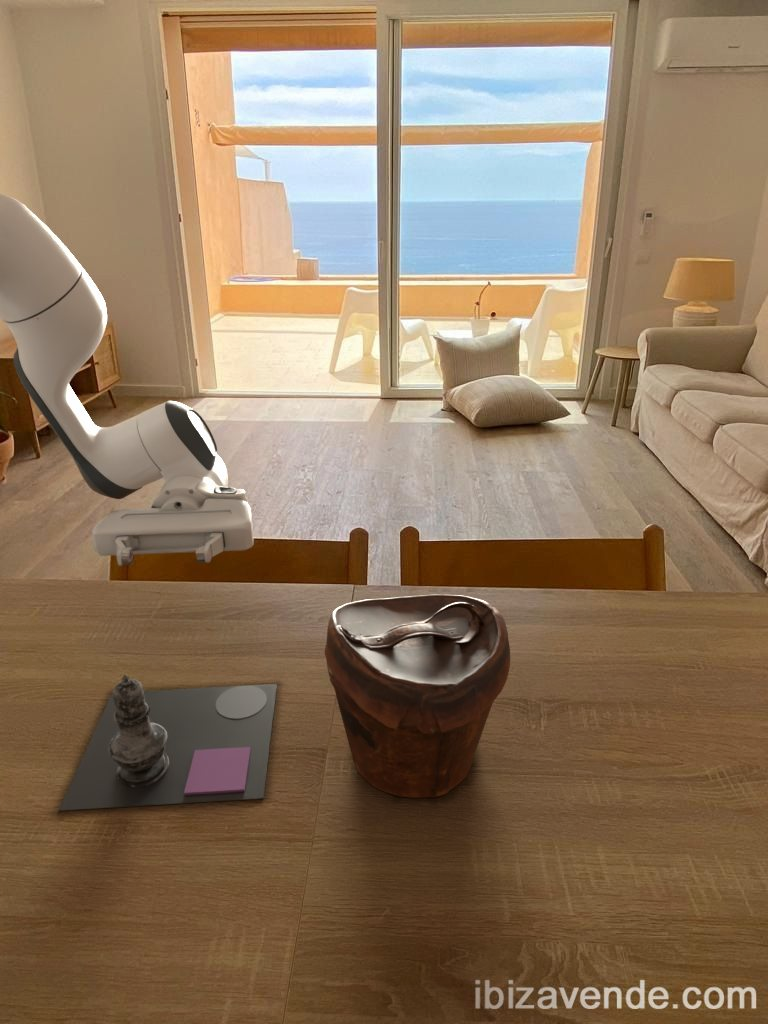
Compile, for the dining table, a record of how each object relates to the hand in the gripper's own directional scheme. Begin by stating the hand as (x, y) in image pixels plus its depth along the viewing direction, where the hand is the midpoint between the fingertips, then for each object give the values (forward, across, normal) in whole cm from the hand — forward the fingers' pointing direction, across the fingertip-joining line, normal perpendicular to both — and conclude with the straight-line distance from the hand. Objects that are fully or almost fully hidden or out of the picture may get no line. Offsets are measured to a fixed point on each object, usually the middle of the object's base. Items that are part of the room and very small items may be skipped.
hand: (163, 559), depth 84 cm
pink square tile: (+20, +8, +15) cm, 26 cm away
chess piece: (+18, 0, +15) cm, 24 cm away
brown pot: (+18, +29, +15) cm, 38 cm away
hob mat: (+15, +3, +15) cm, 21 cm away
